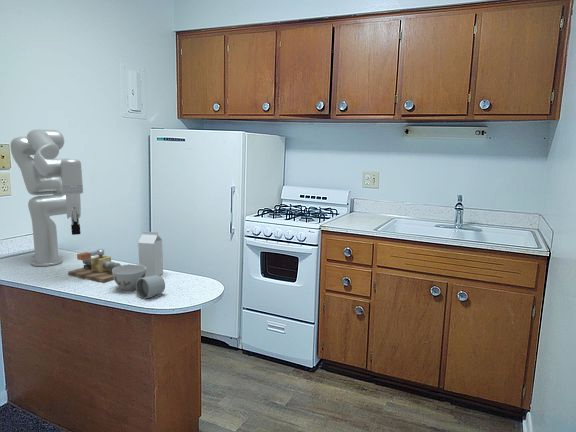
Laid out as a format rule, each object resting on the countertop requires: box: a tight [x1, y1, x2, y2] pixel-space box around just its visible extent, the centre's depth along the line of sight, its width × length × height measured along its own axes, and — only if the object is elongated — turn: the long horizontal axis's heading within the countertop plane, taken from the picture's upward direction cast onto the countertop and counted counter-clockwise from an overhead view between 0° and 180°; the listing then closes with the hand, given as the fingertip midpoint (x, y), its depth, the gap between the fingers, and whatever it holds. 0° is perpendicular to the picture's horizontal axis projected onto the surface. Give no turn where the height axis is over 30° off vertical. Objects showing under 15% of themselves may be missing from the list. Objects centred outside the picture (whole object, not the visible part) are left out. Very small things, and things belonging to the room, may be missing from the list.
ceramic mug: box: [135, 275, 166, 300], centre depth 158 cm, size 11×8×8 cm
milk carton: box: [137, 231, 164, 277], centre depth 180 cm, size 7×7×19 cm
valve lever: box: [76, 248, 105, 261], centre depth 178 cm, size 12×3×2 cm, turn 152°
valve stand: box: [67, 255, 121, 284], centre depth 182 cm, size 22×16×8 cm
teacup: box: [112, 264, 146, 291], centre depth 166 cm, size 15×12×8 cm
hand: (76, 234), depth 176 cm, fingers closed
